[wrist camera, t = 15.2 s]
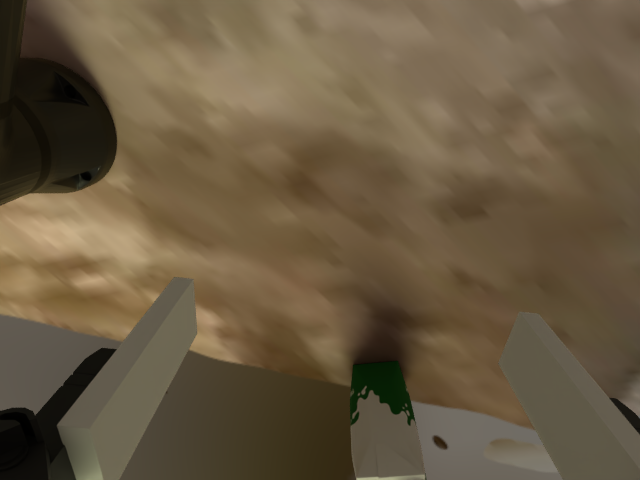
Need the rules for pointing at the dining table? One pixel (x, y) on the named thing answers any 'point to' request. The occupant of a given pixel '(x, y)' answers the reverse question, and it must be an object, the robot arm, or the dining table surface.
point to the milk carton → (383, 425)
